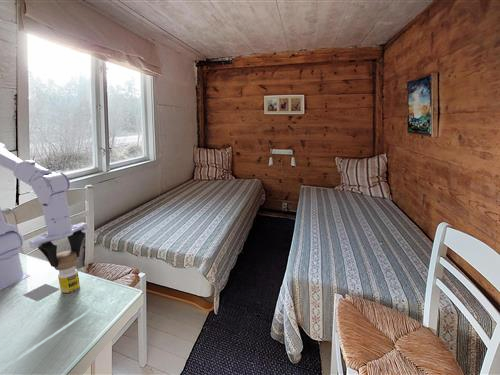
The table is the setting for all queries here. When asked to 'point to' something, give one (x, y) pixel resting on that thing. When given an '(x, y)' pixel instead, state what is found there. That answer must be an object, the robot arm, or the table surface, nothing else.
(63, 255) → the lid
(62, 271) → the supplement bottle
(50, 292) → the mat
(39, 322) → the table surface
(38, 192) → the robot arm
